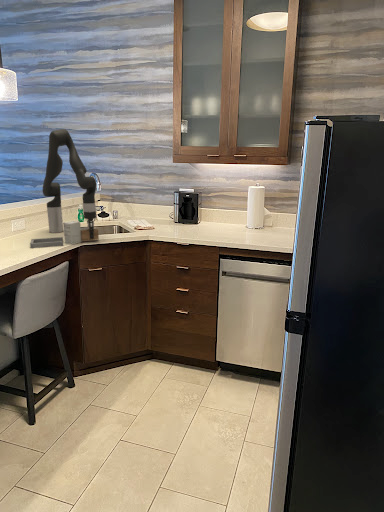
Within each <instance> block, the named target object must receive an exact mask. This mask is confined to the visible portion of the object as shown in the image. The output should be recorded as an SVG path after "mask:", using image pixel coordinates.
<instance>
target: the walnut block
mask: <svg viewBox="0 0 384 512" xmlns="http://www.w3.org/2000/svg"><path fill="white" fill-rule="evenodd" d="M90 231H92V229H90ZM81 238H82V242H87V241H98V240H99V239H100V238H99V229H98V228H94V239H90V233H89V229H88V228H87V229H81Z"/></svg>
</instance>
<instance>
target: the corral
mask: <svg viewBox="0 0 384 512" xmlns="http://www.w3.org/2000/svg"><path fill="white" fill-rule="evenodd" d="M29 246H30V247H29V249H36V248H37V249H38V248H52V247H62V246H63V247H64V236H59V237H44V238H43V237H41V238H39V237H38V238H31V239H30V242H29Z"/></svg>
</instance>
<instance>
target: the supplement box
mask: <svg viewBox="0 0 384 512" xmlns="http://www.w3.org/2000/svg"><path fill="white" fill-rule="evenodd" d="M81 227H82V226H81V222H80V221H77V220H70V221H63V234H64V236H63V237H64V243H65V244H68V245H69V244H70V245H74V244H75V245H76V244H79V243H82V242H83V241H82V238H81V230H82V228H81Z"/></svg>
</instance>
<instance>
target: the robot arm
mask: <svg viewBox="0 0 384 512" xmlns="http://www.w3.org/2000/svg"><path fill="white" fill-rule="evenodd" d="M48 137H49V138H48V155H47V156H48V157H47V161H46V169H45V175H44V176H45V177H44V180H43V183H42V184H43V185H42V195H43V196H44V197H48V198H51V197H54V198H53V199H51V200H50V201H48V202H46V212H47V220H48V231H49V233H51V234H54V233H55V234H58V233H62V232H63V233H64V226H63V222H64V221H63V210H62V194H61V193H62V192H61V190H62V189H61V184H60V183H59V182H53V181H54V180H55V179H56V178H57V177H59V175H60V174H61V172H62V170H63V166H64V165H63V163H64V162H63V159H62V157H61V156H60V154H59V147H63V146H64V147H65V146H66V148H67V149H68V152H69V156H68V157H69V158H68V160H69V162H68V163H69V165H70V167H71V169H72V171H73V173H74V174H75V177H76V181H77V184H78V186H79V187H80V188H81V189H83V190H86V191H85V192H84V193H82V211H83V212H82V213H83V219H85V220H86V224H87V229H89V233H90V239H94V229H95V221H94V219H97V207H96V199H95V198H96V197H95V195H96V191H97V190H96V189H97V181H96V178H95V177H93V176H86V174H87V172H88V170H87V168H86V166H85V164H84V163H83V161H82V159H81V158H80V155H79V153H78V151H77V148H76V146H75V144H74V141H73V138H72V136H71V134H70V133H69V131H68V130H67V129H63V128H62V129H56V130H52V131H51V132H50V133H49V136H48ZM90 229H92V231H90Z"/></svg>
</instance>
